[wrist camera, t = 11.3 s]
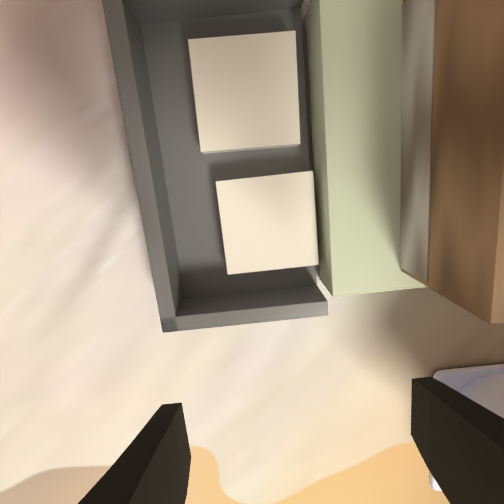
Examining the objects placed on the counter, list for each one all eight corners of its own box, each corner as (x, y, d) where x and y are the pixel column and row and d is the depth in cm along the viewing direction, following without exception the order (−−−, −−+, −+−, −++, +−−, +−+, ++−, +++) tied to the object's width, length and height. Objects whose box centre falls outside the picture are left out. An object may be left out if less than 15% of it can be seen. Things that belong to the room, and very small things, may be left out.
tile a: (314, 259, 18) (318, 264, 17) (228, 268, 18) (227, 274, 17) (308, 171, 17) (313, 170, 16) (217, 181, 17) (215, 181, 16)
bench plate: (483, 261, 19) (525, 276, 16) (319, 278, 19) (332, 296, 16) (501, -4, 16) (558, -45, 13) (305, 17, 16) (318, -20, 13)
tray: (315, 294, 19) (328, 315, 16) (175, 309, 19) (162, 332, 16) (297, -6, 16) (309, -47, 13) (125, 13, 16) (97, -25, 13)
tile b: (296, 146, 17) (300, 143, 16) (203, 153, 17) (200, 151, 16) (291, 41, 16) (295, 30, 15) (192, 49, 16) (187, 39, 15)
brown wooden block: (459, 264, 16) (583, 314, 10) (399, 271, 16) (488, 324, 10) (473, -9, 13) (653, -156, 7) (401, -1, 13) (524, -142, 7)
